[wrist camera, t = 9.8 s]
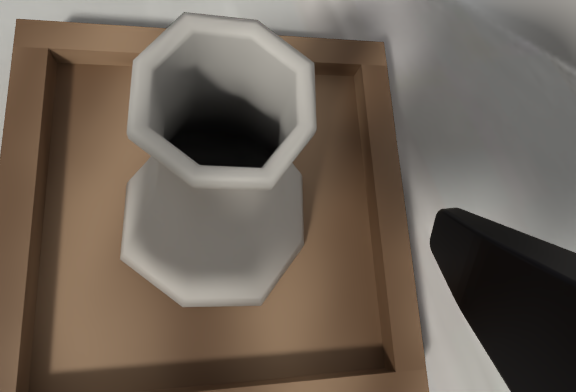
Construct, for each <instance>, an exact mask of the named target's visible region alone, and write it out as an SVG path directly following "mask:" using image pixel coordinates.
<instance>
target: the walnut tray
mask: <svg viewBox="0 0 576 392" xmlns="http://www.w3.org/2000/svg"><path fill="white" fill-rule="evenodd" d="M166 29H167V28H153V27H137V26H121V25H105V24H90V23H74V22H58V21H42V20H27V19H16V27H15V36H14V44H13V53H12V61H11V70H10V78H9V87H8V95H7V104H6V112H5V121H4V129H3V137H2V146H1V154H0V392H429V387H428V379H427V371H426V364H425V356H424V348H423V341H422V333H421V325H420V317H419V310H418V302H417V294H416V286H415V279H414V271H413V263H412V256H411V248H410V240H409V232H408V225H407V217H406V209H405V201H404V194H403V186H402V178H401V171H400V163H399V155H398V147H397V140H396V132H395V124H394V116H393V109H392V101H391V93H390V86H389V78H388V70H387V62H386V55H385V47H384V42H373V41H358V40H342V39H326V38H310V37H295V36H279V35H278V36H279V37H281V38H282V39H283V40H285V41H286V42H287V43H288V44H290V45H291V46H292V47H294V48H295V49H296V50H298V51H299V52H300V53H302V54H303V55H304V56H306V57H307V58H308V59H310V60H311V61H312V62H314V67H315V95H316V124H317V130H316V132H315V134H314V136H313V137H312V138H311V140H310V141H309V142H308V143H307V145H306V146H305V147H304V148H303V150H302V151H301V152H300V154H299V155H298V156H297V157H296V159H295V160H294V161H293V162H292V163H293V164H294V166H295V167H296V168H297V169H298V171H299V172H300V173H301V175H302V182H303V222H304V246H303V248H302V249H301V250H300V252H299V253H298V255H297V256H296V257H295V259H294V260H293V262H292V263H291V264H290V266H289V267H288V269H287V270H286V271H285V273H284V274H283V276H282V277H281V278H280V280H279V281H278V283H277V284H276V285H275V287H274V288H273V290H272V291H271V292H270V294H269V295H268V297H267V298H266V299H265V301H264V302H263V304H262V305H261V306H221V307H182V306H180V305H179V304H178V303H176V302H175V301H174V300H173V299H171V298H170V297H169V296H167V295H166V294H165V293H163V292H162V291H161V290H159V289H158V288H157V287H156V286H154V285H153V284H152V283H150V282H149V281H148V280H146V279H145V278H144V277H142V276H141V275H140V274H139V273H137V272H136V271H135V270H133V269H132V268H131V267H129V266H128V265H127V264H125V263H124V262H123V261H122V260H120V254H121V243H122V231H123V220H124V208H125V197H126V185H127V183H128V181H129V180H130V179H131V178H132V177H133V176H134V175H135V173H136V172H137V171H138V170H139V169H140V168H141V167H142V166H143V165H144V164H145V163H146V162H147V161H148V159H149V158H150V157H151V156H150V155H149V154H148V153H146V152H145V151H144V150H142V149H141V148H140V147H139V146H137V145H136V144H135V143H133V142H132V141H131V140H129V139H128V136H127V122H128V111H129V99H130V88H131V77H132V66H133V60H134V59H135V58H136V57H137V56H138V55H139V54H140V53H141V52H142V51H143V50H145V49H146V48H147V47H148V46H149V45H150V44H151V43H152V42H153V41H154V40H155V39H156V38H157V37H158V36H159V35H160V34H161V33H163V32H164V31H165V30H166Z"/></svg>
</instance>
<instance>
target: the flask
mask: <svg viewBox="0 0 576 392" xmlns="http://www.w3.org/2000/svg"><path fill="white" fill-rule="evenodd" d="M316 130H317V124H316V95H315V67H314V62H312V61H311V60H310V59H308V58H307V57H306V56H304V55H303V54H302V53H300V52H299V51H298V50H296V49H295V48H294V47H292V46H291V45H290V44H288V43H287V42H286V41H285V40H283V39H282V38H281V37H279V36H278V35H277V34H275V33H274V32H273V31H271V30H270V29H269V28H267V27H266V26H265V25H263V24H262V23H261V22H259V21H258V20H253V19H243V18H234V17H225V16H215V15H206V14H196V13H187V12H184V13H183V14H182V15H181V16H179V17H178V18H177V19H176V20H175V21H174V22H173V23H172V24H171V25H170V26H169V27H168V28H167V29H166V30H165V31H164V32H163V33H161V34H160V35H159V36H158V37H157V38H156V39H155V40H154V41H153V42H152V43H151V44H150V45H149V46H148V47H147V48H146V49H145V50H143V51H142V52H141V53H140V54H139V55H138V56H137V57H136V58H135V59H134V60H133V66H132V77H131V88H130V99H129V111H128V122H127V136H128V139H129V140H131V141H132V142H133V143H135V144H136V145H137V146H139V147H140V148H141V149H142V150H144V151H145V152H146V153H148V154H149V155H150V156H151V157H150V158H149V159H148V161H147V162H146V163H145V164H144V165H143V166H142V167H141V168H140V169H139V170H138V171H137V172H136V173H135V175H134V176H133V177H132V178H131V179H130V180H129V181H128V183H127V185H126V197H125V208H124V220H123V231H122V243H121V254H120V260H122V261H123V262H124V263H125V264H127V265H128V266H129V267H131V268H132V269H133V270H135V271H136V272H137V273H139V274H140V275H141V276H142V277H144V278H145V279H146V280H148V281H149V282H150V283H152V284H153V285H154V286H156V287H157V288H158V289H159V290H161V291H162V292H163V293H165V294H166V295H167V296H169V297H170V298H171V299H173V300H174V301H175V302H176V303H178V304H179V305H180V306H182V307H221V306H261V305H262V304H263V302H264V301H265V299H266V298H267V297H268V295H269V294H270V292H271V291H272V290H273V288H274V287H275V285H276V284H277V283H278V281H279V280H280V278H281V277H282V276H283V274H284V273H285V271H286V270H287V269H288V267H289V266H290V264H291V263H292V262H293V260H294V259H295V257H296V256H297V255H298V253H299V252H300V250H301V249H302V248H303V246H304V222H303V182H302V175H301V173H300V172H299V171H298V169H297V168H296V167H295V166H294V164H293V163H292V162H293V161H294V160H295V159H296V157H297V156H298V155H299V154H300V152H301V151H302V150H303V148H304V147H305V146H306V145H307V143H308V142H309V141H310V140H311V138H312V137H313V136H314V134H315V132H316Z"/></svg>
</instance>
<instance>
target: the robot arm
mask: <svg viewBox="0 0 576 392" xmlns="http://www.w3.org/2000/svg"><path fill="white" fill-rule="evenodd" d="M430 248H431V251H432V253H433V255H434V257H435V259H436V261H437V264H438V266H439V268H440V270H441V272H442V274H443V276H444V278H445V280H446V282H447V284H448V286H449V288H450V290H451V292H452V295H453V297H454V299H455V301H456V302H457V304H458V306H459V308H460V310H461V312H462V313H463V315H464V317H465V318H466V320H467V322H468V323H469V325H470V326H471V328H472V330H473V331H474V333H475V335H476V336H477V338H478V339H479V341H480V343H481V344H482V346H483V347H484V349H485V351H486V352H487V354H488V356H489V357H490V359H491V360H492V362H493V364H494V365H495V367H496V368H497V370H498V372H499V373H500V375H501V377H502V378H503V380H504V381H505V383H506V385H507V386H508V388H509V390H510V391H511V392H576V253H574V252H572V251H569V250H566V249H564V248H561V247H559V246H556V245H553V244H551V243H548V242H546V241H543V240H540V239H538V238H535V237H533V236H530V235H527V234H525V233H522V232H520V231H517V230H514V229H512V228H509V227H507V226H504V225H501V224H499V223H496V222H494V221H491V220H488V219H486V218H483V217H481V216H478V215H475V214H473V213H470V212H468V211H465V210H462V209H460V208H447V209H441V210H439V211H438V213H437V214H436V218H435V221H434V225H433V229H432V233H431V237H430Z"/></svg>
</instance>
